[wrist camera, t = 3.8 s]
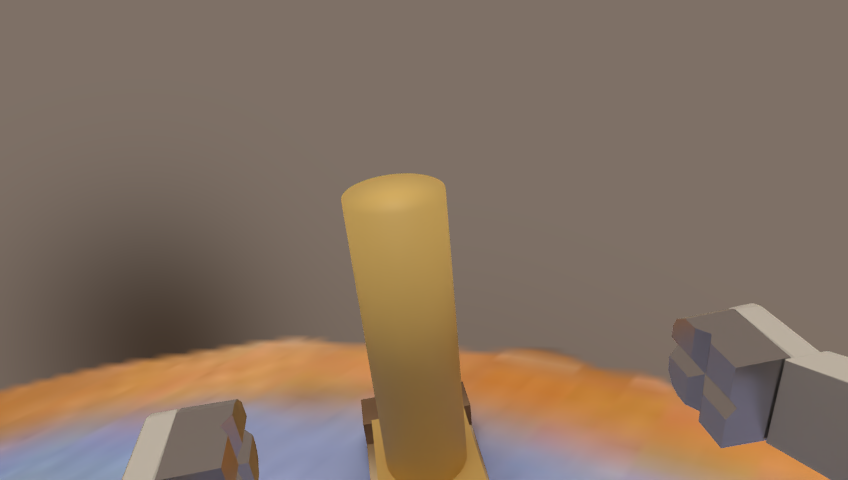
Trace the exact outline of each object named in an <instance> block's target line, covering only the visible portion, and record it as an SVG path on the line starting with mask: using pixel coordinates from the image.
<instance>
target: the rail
mask: <svg viewBox="0 0 848 480" xmlns="http://www.w3.org/2000/svg"><path fill="white" fill-rule="evenodd" d="M461 385H462V398H463V406H464V409H465V412H466V416H467V419H468V422H469V425H470V428H471V431H472V435H473V438H474V441H475V444H476V447H477V450H478V454H479V457H480V460H481V463H482V466H483V469H484V473H485V476H486V479H487V480H489V477H488V474H487V471H486V468H485V465H484V462H483V459H482V456H481V452H480V449H479V446H478V443H477V440H476V437H475V434H474V431H473V427H472V423H471V409H470V403H469V400H468V397H467V394H466V391H465V388H464V385H463V382H461ZM361 403H362V414H363V425H364V431H365V436H366V441H367V448H368V459H369V470H370V480H378V477H377V467H376V458H375V449H374V439H373V430H372V421H371V420H376V419H379V417H378V411H377V405H376V400H375V397H374V398H369V399H363V400H361Z"/></svg>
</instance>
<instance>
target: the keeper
mask: <svg viewBox="0 0 848 480" xmlns="http://www.w3.org/2000/svg"><path fill="white" fill-rule="evenodd" d="M341 202H342V208H343V213H344V219H345V225H346V231H347V237H348V243H349V249H350V254H351V260H352V266H353V272H354V277H355V283H356V289H357V294H358V301H359V307H360V312H361V318H362V324H363V330H364V335H365V341H366V347H367V353H368V359H369V365H370V371H371V376H372V382H373V388H374V394H375V400H376V405H377V411H378V417H379V419H376V420H371V421H372V430H373V439H374V449H375V458H376V467H377V477H378V480H487V479H486V476H485V473H484V469H483V466H482V463H481V460H480V457H479V454H478V450H477V447H476V444H475V441H474V438H473V435H472V431H471V428H470V425H469V422H468V419H467V416H466V412H465V409H464V406H463V398H462V385H461V373H460V361H459V348H458V336H457V324H456V312H455V300H454V287H453V274H452V263H451V250H450V238H449V226H448V213H447V201H446V188H445V185H444V184H443V182H442V181H440V180H439V179H437V178H434V177H431V176H427V175H421V174H409V173H408V174H407V173H405V174H391V175H384V176H379V177H375V178H371V179H368V180H365V181H362V182H359V183H357V184H355V185H353V186H352V187H350V188H349V189H347V190H346V191H345V192H344V194H343V195H342V198H341Z"/></svg>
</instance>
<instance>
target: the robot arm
mask: <svg viewBox="0 0 848 480" xmlns="http://www.w3.org/2000/svg"><path fill="white" fill-rule="evenodd" d="M672 338H673V339H674V340H675V341H676V342H677V344H678V346H677V347H676V348H675V350H674V351H673V352H672V353H671V355H670V357H669V374H670V378H671V382H672V385H673V387H674V389H675V391H676V393H677V395H678V396H679V397H680V399H681V400H682V401H683V402H684V404H686V405H688V406H690V407H692V408H694V409H696V410H699V411H700V414H699V422H700V423H701V424H702V426H703V427H704V428H705V429H706V431H707V432H708V433H709V434H710V435H711V437H712V438H713V439H714V440H715V441H716V443H717V444H718V445H719V446H720V447H721V448H724V447H730V446H736V445H741V444H747V443H753V442H758V441H764V440H767V441H766V443H768V444H770V445H772V446H773V447H775V448H777V449H778V450H780V451H782V452H784V453H785V454H787V455H789V456H791V457H792V458H794V459H796V460H798V461H799V462H801V463H803V464H805V465H806V466H808V467H810V468H812V469H813V470H815V471H817V472H818V473H820V474H822V475H824V476H825V477H827V478H829V479H831V480H848V357H845V356H842V355H839V354H836V353H833V352H829V351H827V352H821V353H820V352H819V351H818V350H817V349H815V348H814V347H813V346H812V345H810V344H809V343H808V342H806V341H805V340H804V339H802V338H801V337H800V336H799V335H797V334H796V333H795V332H794V331H792V330H791V329H790V328H788V327H787V326H786V325H785V324H783V323H782V322H781V321H779V320H778V319H777V318H776V317H774V316H773V315H772V314H771V313H769V312H768V311H767V310H765V309H764V308H763V307H761V306H760V305H756V304H753V303H751V304H747V305H742V306H737V307H732V308H728V309H726V310H721V311H716V312H711V313H705V314H699V315H694V316H689V317H684V318H679V319H677V320H676V322H675V323H674V325H673V331H672ZM246 417H247V416H246V413H245V410H244V408H243V405H242V402H241V401H239V400H238V399H236V400H230V401H224V402H218V403H212V404H205V405H199V406H193V407H187V408H181V409H177V410H171V411H165V412H159V413H153V414H151V415H150V416H149V417H147V418H146V420H145V422H144V424H143V427H142V429H141V432H140V434H139V437H138V439H137V442H136V445H135V447H134V450H133V452H132V455H131V457H130V460H129V462H128V465H127V467H126V470H125V472H124V475H123V478H122V480H258V478H259V467H258V455H257V449H256V444H255V441H254V438H253V435H252V434H250V433H249V432H247V431H246V430H244V429H245V423H246Z"/></svg>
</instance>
